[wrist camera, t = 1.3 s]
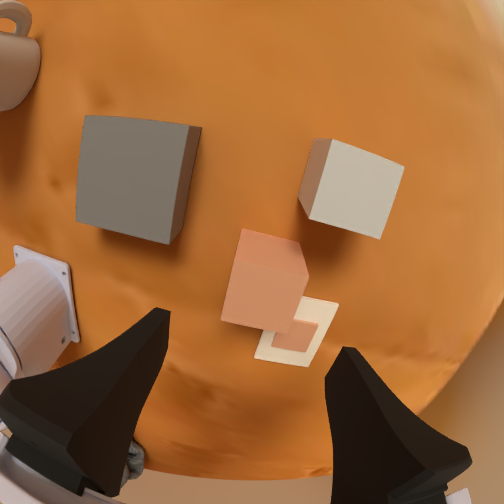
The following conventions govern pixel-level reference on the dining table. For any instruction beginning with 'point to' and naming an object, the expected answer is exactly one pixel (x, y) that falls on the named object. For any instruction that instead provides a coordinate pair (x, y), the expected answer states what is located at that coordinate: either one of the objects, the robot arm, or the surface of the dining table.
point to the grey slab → (135, 175)
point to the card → (298, 334)
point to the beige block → (349, 187)
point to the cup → (17, 56)
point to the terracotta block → (265, 282)
